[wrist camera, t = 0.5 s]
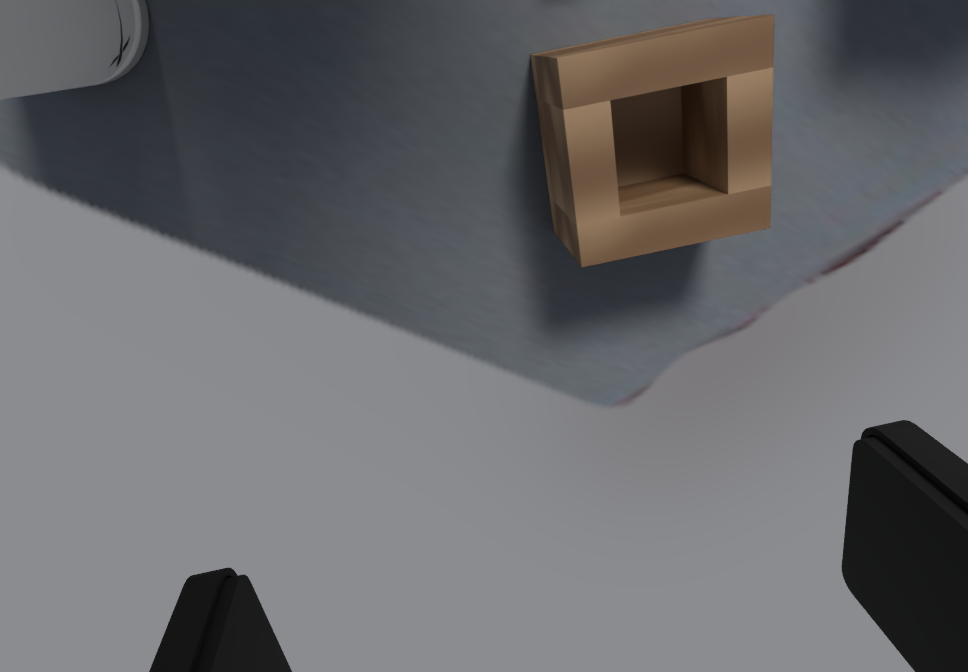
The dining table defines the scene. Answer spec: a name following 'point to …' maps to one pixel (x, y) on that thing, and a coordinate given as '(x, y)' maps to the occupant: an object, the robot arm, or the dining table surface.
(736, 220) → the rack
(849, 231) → the dining table surface
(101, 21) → the travel mug
